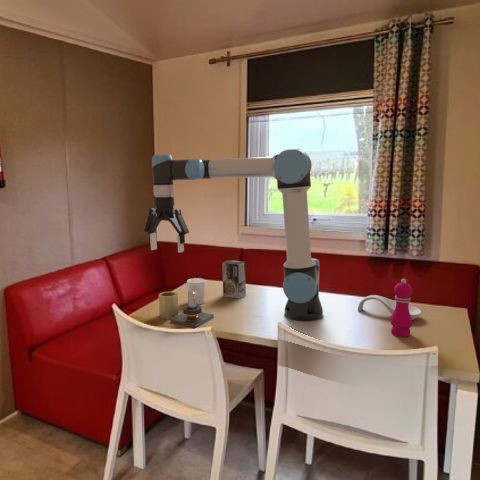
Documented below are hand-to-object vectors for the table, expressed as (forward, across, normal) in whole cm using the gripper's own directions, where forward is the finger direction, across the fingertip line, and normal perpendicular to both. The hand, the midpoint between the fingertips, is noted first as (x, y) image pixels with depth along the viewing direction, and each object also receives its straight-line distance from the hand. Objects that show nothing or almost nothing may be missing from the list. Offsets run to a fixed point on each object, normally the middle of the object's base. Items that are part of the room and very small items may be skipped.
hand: (167, 250), depth 157 cm
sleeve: (+27, +1, 0) cm, 27 cm away
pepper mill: (+28, -83, -25) cm, 91 cm away
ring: (+24, -10, -1) cm, 26 cm away
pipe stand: (+27, -10, -1) cm, 29 cm away
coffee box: (+27, -9, -35) cm, 45 cm away
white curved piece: (+29, -76, -42) cm, 92 cm away
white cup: (+27, +1, -19) cm, 33 cm away
